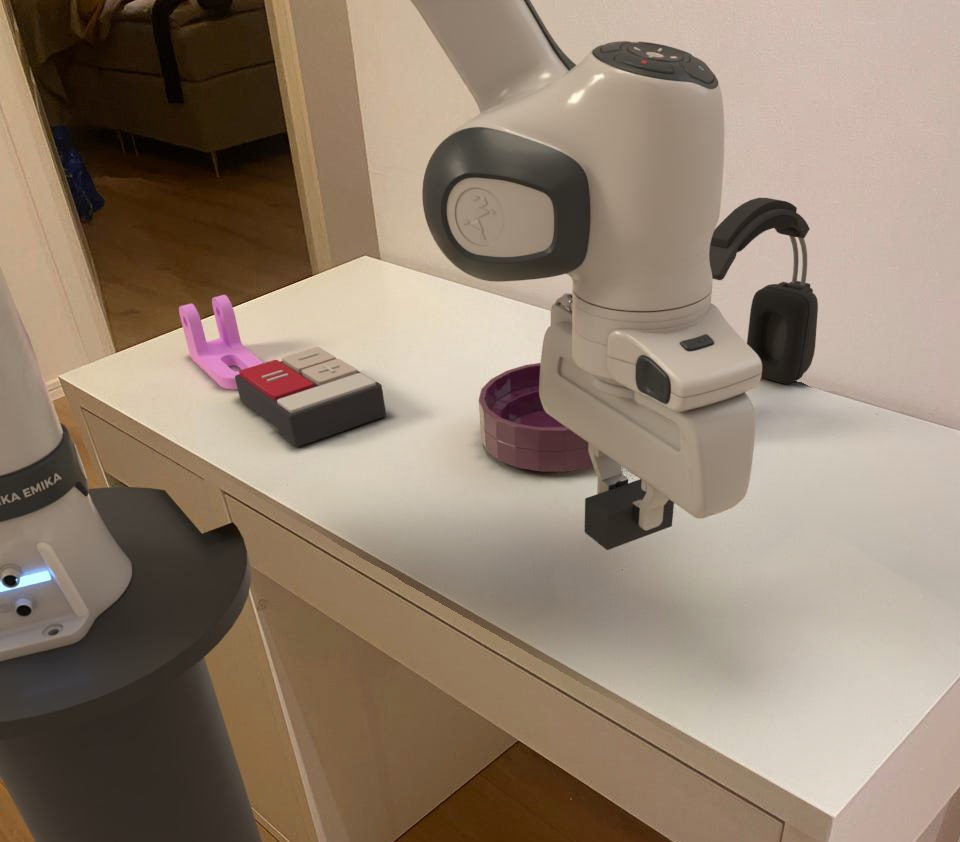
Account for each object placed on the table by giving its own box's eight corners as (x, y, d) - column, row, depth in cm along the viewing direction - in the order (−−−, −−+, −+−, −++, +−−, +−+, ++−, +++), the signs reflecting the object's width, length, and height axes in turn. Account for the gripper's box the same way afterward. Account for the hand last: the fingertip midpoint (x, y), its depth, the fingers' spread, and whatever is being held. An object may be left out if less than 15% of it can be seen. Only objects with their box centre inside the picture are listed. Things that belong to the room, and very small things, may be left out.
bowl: (533, 493, 93) (531, 445, 90) (455, 431, 104) (452, 387, 100) (662, 447, 98) (665, 400, 95) (576, 392, 109) (577, 349, 106)
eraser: (606, 550, 73) (608, 516, 71) (583, 532, 75) (584, 497, 73) (672, 526, 75) (675, 491, 73) (648, 508, 77) (650, 475, 75)
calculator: (319, 342, 115) (382, 377, 104) (326, 377, 117) (388, 415, 107) (231, 369, 110) (287, 409, 100) (240, 405, 113) (296, 448, 102)
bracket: (190, 357, 123) (176, 302, 118) (232, 345, 125) (220, 291, 120) (228, 394, 114) (214, 335, 110) (273, 380, 116) (261, 322, 112)
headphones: (698, 449, 98) (716, 240, 85) (646, 430, 101) (656, 228, 89) (817, 372, 109) (849, 178, 96) (767, 357, 113) (791, 169, 100)
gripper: (516, 294, 71) (520, 465, 80) (699, 398, 57) (679, 592, 66) (590, 276, 73) (586, 444, 82) (782, 371, 59) (753, 562, 68)
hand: (629, 511), depth 74 cm, fingers closed on eraser, 3 cm apart
